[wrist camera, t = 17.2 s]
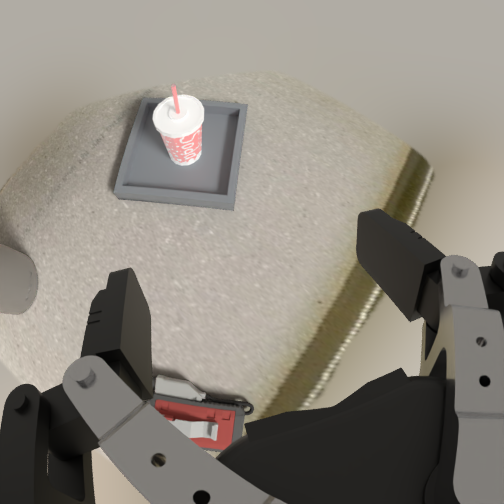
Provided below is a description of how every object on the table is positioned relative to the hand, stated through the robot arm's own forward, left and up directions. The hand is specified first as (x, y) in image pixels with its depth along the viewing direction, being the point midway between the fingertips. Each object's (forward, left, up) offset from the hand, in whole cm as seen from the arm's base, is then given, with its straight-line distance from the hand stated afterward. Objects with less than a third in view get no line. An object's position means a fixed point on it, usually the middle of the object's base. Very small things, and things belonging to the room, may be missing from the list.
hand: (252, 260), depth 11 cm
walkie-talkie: (-6, -14, -30) cm, 33 cm away
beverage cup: (-9, +20, -28) cm, 36 cm away
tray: (-9, +20, -29) cm, 37 cm away
